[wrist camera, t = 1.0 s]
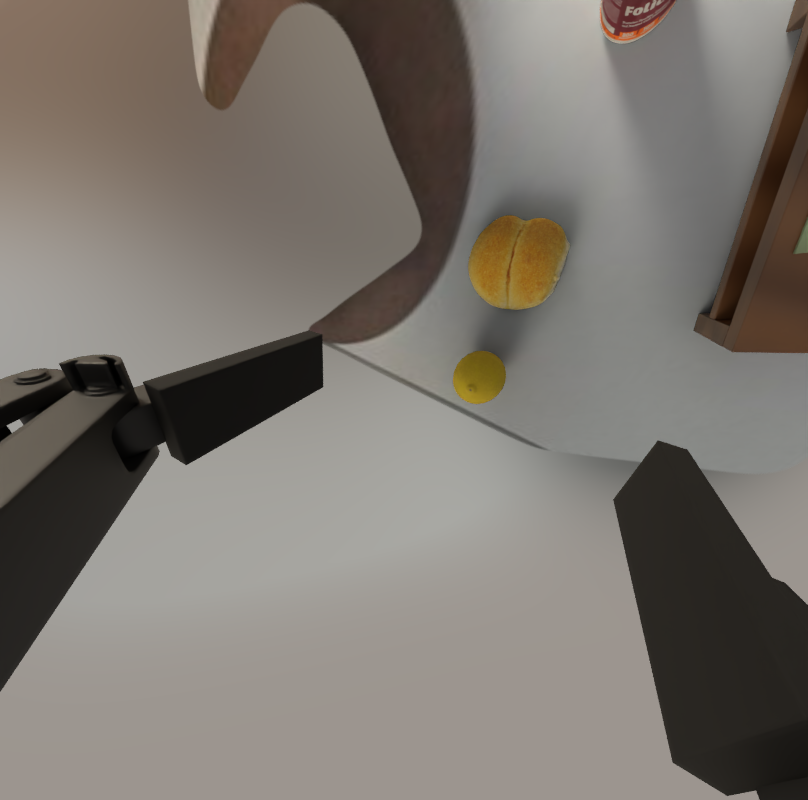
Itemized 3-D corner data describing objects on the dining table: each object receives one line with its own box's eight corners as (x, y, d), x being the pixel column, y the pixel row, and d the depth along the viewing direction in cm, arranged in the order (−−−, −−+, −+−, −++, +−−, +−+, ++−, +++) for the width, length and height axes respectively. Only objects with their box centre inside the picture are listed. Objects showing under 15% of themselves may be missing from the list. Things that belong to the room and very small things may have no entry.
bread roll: (481, 214, 29) (471, 209, 25) (579, 222, 26) (582, 217, 22) (464, 299, 33) (454, 304, 30) (546, 315, 30) (545, 322, 27)
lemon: (520, 359, 33) (511, 384, 26) (493, 394, 36) (479, 424, 30) (479, 334, 34) (460, 353, 27) (456, 371, 37) (434, 395, 30)
